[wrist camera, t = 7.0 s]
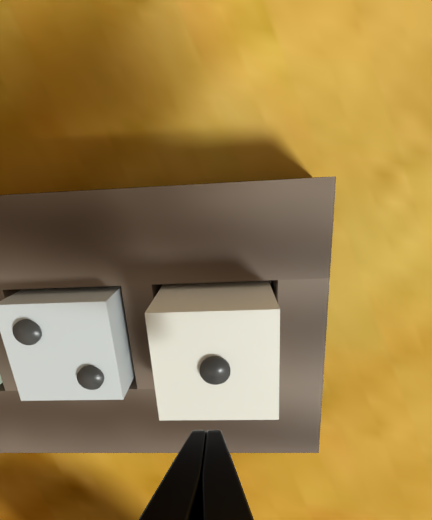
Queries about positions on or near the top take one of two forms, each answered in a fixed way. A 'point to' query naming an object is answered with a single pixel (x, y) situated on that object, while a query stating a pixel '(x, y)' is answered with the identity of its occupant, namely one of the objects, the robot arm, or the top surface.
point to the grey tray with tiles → (173, 272)
